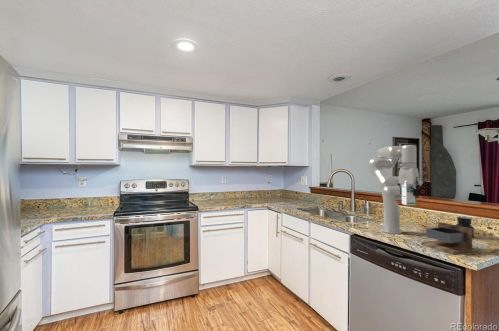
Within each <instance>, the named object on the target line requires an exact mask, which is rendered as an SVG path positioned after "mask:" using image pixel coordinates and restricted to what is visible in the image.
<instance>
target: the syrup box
mask: <svg viewBox="0 0 499 331" xmlns="http://www.w3.org/2000/svg"><path fill="white" fill-rule="evenodd" d="M415 184H416V182H415ZM415 186H416V185H415ZM413 189H414V187H413V185H409V184H408V181H404V184H402V200H401V204H402V205H404V206H417V204H418V201H417V199H418V196H413Z"/></svg>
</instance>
